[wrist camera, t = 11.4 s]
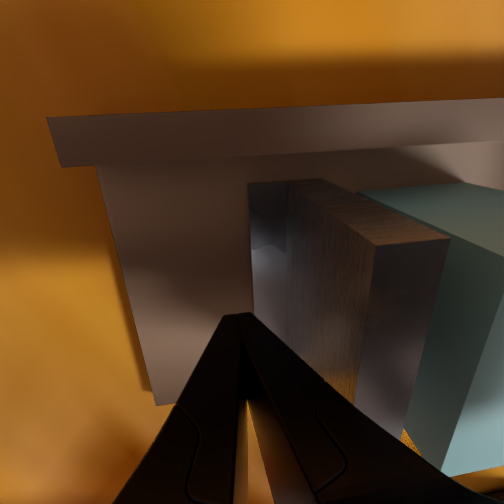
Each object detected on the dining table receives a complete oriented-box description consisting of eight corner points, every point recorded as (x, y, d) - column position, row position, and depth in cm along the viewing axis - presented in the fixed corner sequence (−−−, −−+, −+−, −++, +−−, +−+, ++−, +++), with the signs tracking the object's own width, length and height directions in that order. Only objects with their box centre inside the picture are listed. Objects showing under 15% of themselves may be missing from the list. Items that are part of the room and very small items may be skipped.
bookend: (312, 349, 12) (384, 500, 7) (255, 357, 12) (291, 520, 7) (321, 177, 9) (451, 238, 4) (246, 183, 9) (296, 254, 4)
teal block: (430, 321, 13) (577, 450, 8) (342, 334, 12) (437, 479, 7) (464, 182, 10) (711, 237, 5) (356, 191, 10) (514, 261, 5)
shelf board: (619, 324, 16) (846, 434, 10) (158, 394, 13) (122, 599, 7) (753, 90, 11) (1294, 56, 6) (91, 119, 8) (-134, 109, 3)
